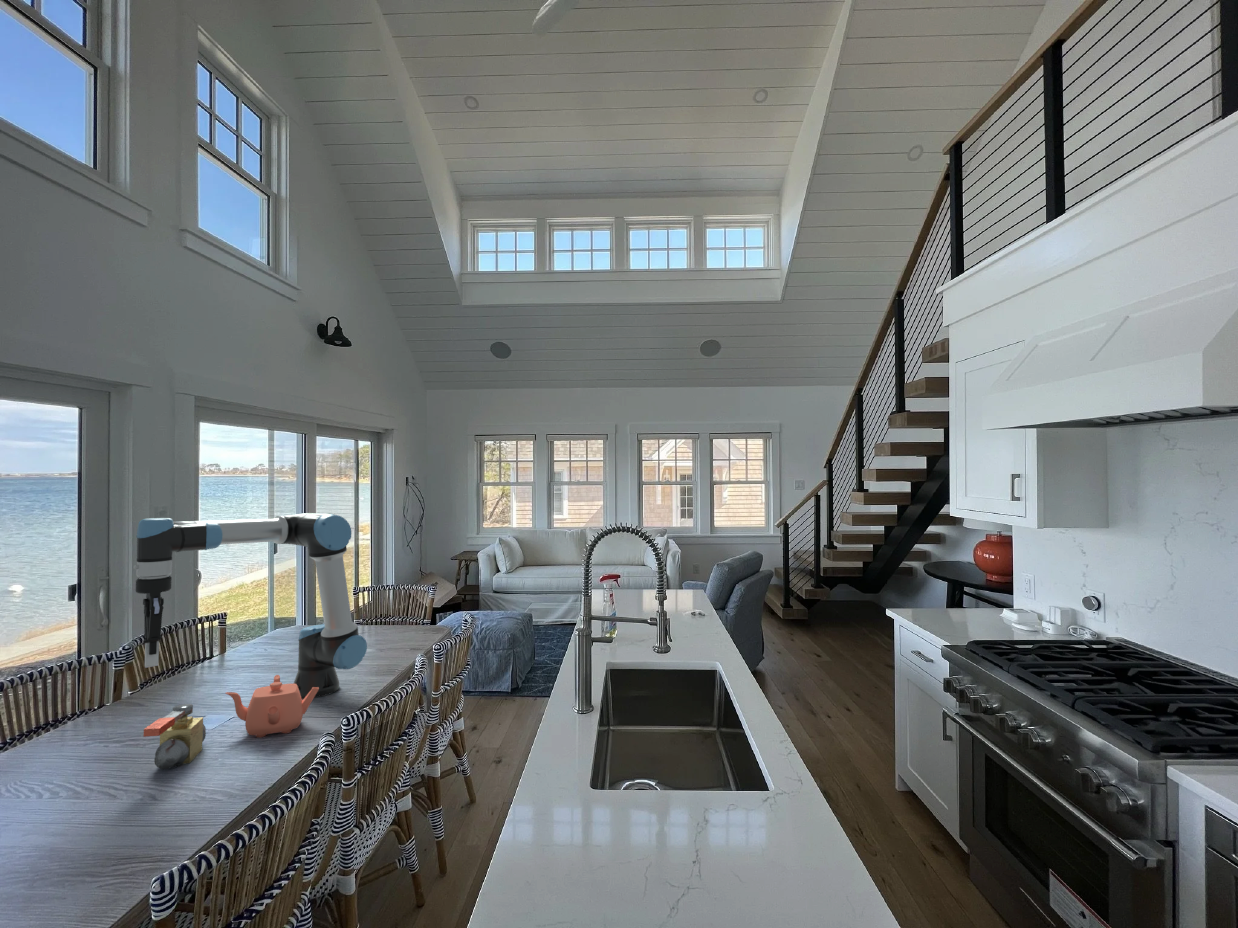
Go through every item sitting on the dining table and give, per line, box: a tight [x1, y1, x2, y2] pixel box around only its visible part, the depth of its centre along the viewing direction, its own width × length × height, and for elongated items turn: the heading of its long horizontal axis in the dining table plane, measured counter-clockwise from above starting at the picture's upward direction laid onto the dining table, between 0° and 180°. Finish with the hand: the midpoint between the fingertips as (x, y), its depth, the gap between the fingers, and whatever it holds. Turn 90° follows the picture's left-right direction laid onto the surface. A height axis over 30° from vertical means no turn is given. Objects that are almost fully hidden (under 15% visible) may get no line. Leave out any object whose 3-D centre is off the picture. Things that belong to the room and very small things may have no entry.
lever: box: [142, 703, 194, 737], centre depth 156 cm, size 17×4×2 cm, turn 10°
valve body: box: [153, 715, 207, 770], centre depth 161 cm, size 18×7×12 cm, turn 15°
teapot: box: [225, 674, 319, 738], centre depth 181 cm, size 18×18×14 cm
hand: (151, 665), depth 158 cm, fingers closed
